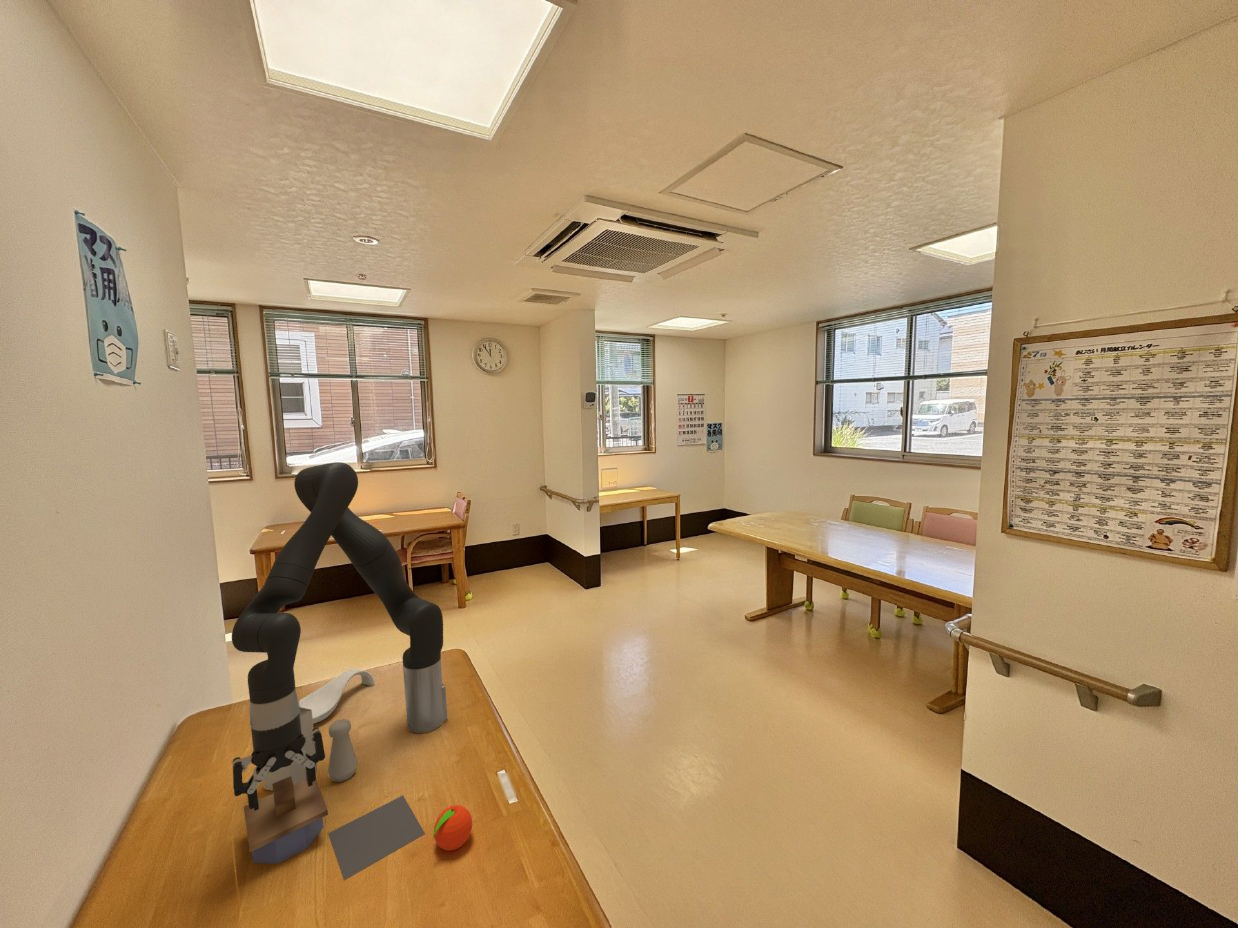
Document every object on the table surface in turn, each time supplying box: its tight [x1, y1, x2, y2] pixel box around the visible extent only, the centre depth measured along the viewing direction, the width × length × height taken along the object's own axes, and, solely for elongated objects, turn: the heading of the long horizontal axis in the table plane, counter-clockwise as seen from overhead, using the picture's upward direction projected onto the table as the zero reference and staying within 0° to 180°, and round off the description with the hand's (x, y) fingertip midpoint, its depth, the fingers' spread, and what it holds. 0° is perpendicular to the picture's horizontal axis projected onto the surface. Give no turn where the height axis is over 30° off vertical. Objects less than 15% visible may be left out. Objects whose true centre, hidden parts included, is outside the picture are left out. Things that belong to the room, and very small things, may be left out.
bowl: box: [251, 817, 324, 865], centre depth 95 cm, size 11×11×6 cm
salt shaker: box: [327, 718, 358, 783], centre depth 110 cm, size 6×6×13 cm
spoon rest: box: [298, 668, 376, 725], centre depth 138 cm, size 24×12×7 cm, turn 160°
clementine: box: [432, 804, 473, 852], centre depth 92 cm, size 8×7×7 cm
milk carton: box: [263, 700, 318, 792], centre depth 109 cm, size 7×7×19 cm
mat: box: [328, 794, 426, 881], centre depth 95 cm, size 14×13×1 cm
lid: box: [243, 776, 329, 853], centre depth 94 cm, size 12×12×6 cm
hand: (283, 795), depth 94 cm, fingers open, 8 cm apart
